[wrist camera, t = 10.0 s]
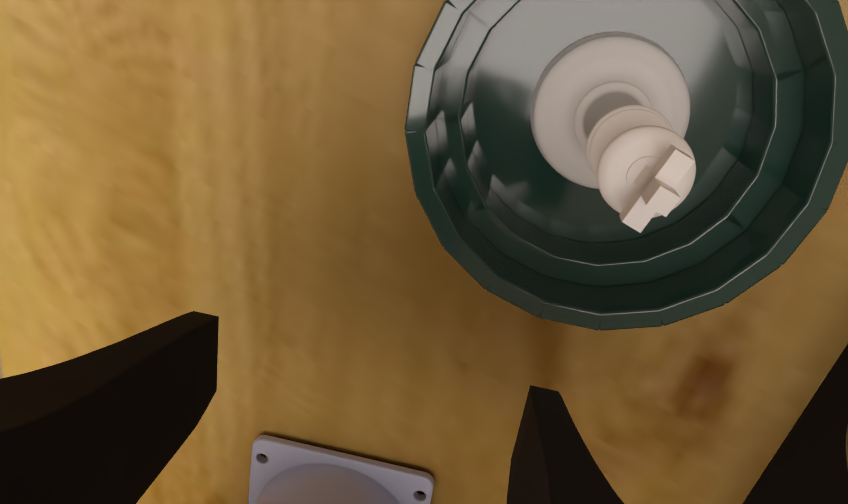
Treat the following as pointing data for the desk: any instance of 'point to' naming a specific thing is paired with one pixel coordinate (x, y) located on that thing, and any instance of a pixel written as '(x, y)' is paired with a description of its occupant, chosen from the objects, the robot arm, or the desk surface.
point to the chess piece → (617, 123)
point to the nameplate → (813, 451)
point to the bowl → (585, 207)
